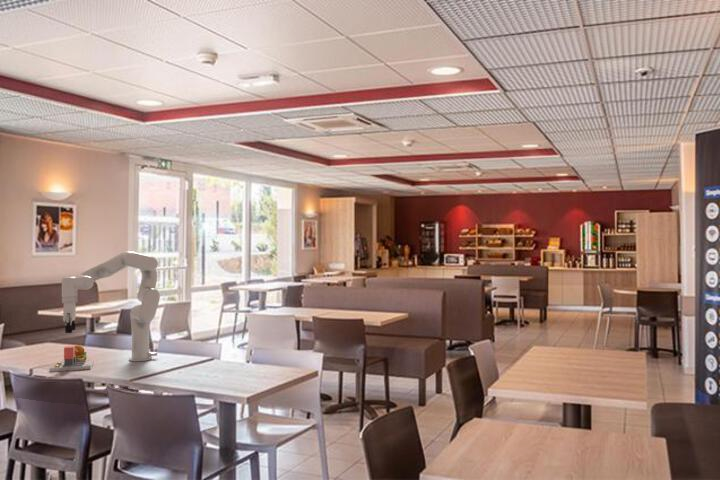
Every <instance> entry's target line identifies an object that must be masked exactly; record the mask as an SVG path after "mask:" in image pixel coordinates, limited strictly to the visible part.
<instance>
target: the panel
mask: <svg viewBox="0 0 720 480" xmlns="http://www.w3.org/2000/svg"><path fill="white" fill-rule="evenodd" d="M92 366H93V367H94V366H95V363H94V361H87V359H86V360H84V361H76V363H74V365H64V362H60V361H59V362H55V363H53V364H52V365H51V366H50V367H49V373H51V372H52V373H53V372H67V371H66V370H73V371H81V370H80V369H89V370H92V368H93V367H92ZM91 367H92V368H91Z"/></svg>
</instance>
